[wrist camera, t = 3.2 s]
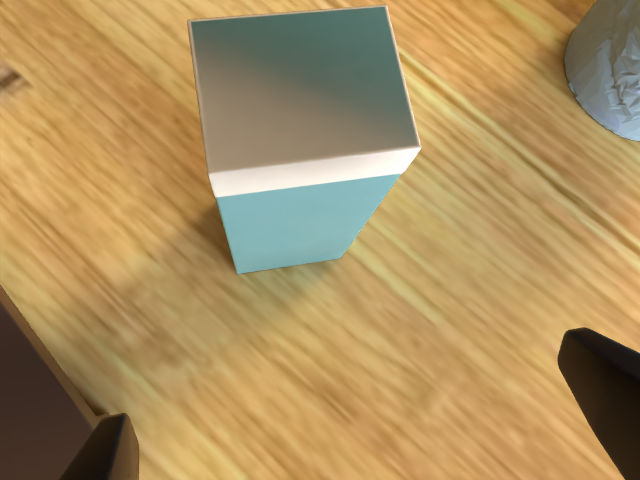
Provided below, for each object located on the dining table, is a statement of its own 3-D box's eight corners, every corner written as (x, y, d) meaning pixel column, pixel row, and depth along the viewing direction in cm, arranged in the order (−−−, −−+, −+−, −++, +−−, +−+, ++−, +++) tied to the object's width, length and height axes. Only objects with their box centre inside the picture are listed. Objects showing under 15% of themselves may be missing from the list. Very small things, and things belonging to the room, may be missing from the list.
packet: (342, 258, 24) (422, 148, 12) (236, 274, 23) (207, 174, 11) (326, 180, 25) (387, 3, 13) (224, 193, 24) (186, 18, 12)
